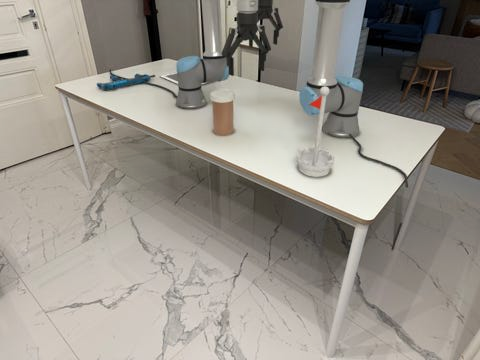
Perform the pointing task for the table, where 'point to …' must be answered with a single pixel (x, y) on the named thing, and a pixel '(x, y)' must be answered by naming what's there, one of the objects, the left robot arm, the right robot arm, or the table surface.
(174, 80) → the tablet
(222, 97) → the lid
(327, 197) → the table surface
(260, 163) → the table surface
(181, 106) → the left robot arm
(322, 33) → the right robot arm
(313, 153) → the flag stand
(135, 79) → the submachine gun
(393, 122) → the table surface
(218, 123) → the jar
